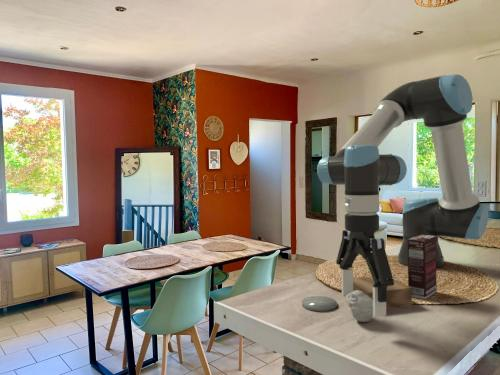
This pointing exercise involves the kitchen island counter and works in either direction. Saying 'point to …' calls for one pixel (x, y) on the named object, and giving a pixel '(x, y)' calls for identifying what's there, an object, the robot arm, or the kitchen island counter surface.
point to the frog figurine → (360, 305)
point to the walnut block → (395, 294)
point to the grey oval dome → (319, 303)
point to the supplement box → (422, 266)
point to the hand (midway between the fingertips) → (362, 305)
